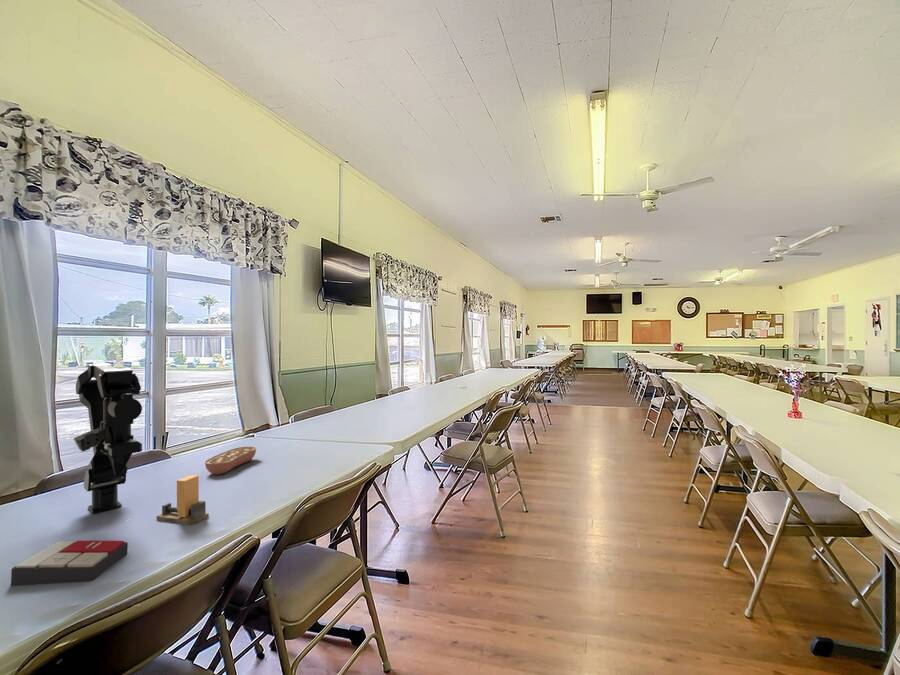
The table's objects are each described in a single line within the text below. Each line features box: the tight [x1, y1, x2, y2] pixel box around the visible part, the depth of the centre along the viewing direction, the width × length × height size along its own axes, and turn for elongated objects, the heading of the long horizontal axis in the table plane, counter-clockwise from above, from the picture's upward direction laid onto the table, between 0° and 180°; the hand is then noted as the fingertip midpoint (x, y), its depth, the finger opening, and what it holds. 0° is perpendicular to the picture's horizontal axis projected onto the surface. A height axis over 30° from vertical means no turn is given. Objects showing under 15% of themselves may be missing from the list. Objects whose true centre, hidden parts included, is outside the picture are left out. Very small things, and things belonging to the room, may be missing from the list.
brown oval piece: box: [204, 446, 257, 476], centre depth 157 cm, size 23×10×5 cm, turn 173°
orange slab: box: [176, 474, 200, 517], centre depth 112 cm, size 2×4×10 cm, turn 164°
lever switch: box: [156, 500, 210, 526], centre depth 113 cm, size 12×5×5 cm, turn 74°
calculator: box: [10, 540, 129, 587], centre depth 89 cm, size 11×4×15 cm
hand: (117, 475), depth 111 cm, fingers closed
